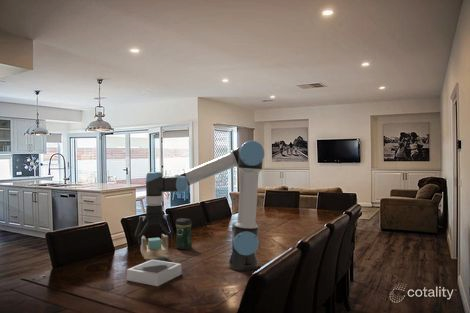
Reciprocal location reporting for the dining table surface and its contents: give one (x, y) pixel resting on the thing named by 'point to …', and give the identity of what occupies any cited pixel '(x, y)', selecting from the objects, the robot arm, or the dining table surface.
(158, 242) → the teal block
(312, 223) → the dining table surface
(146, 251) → the tan plastic holder
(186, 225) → the coffee jar
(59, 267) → the dining table surface
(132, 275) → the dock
